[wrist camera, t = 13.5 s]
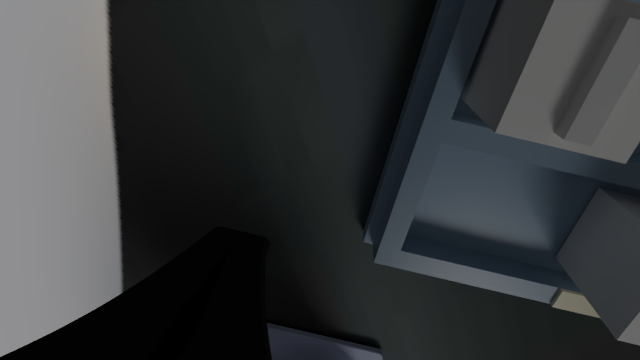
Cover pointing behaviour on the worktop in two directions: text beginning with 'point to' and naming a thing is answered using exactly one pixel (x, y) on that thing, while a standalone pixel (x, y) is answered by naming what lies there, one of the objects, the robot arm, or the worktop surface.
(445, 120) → the dark blue tray
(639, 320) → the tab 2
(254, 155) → the worktop surface
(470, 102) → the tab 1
